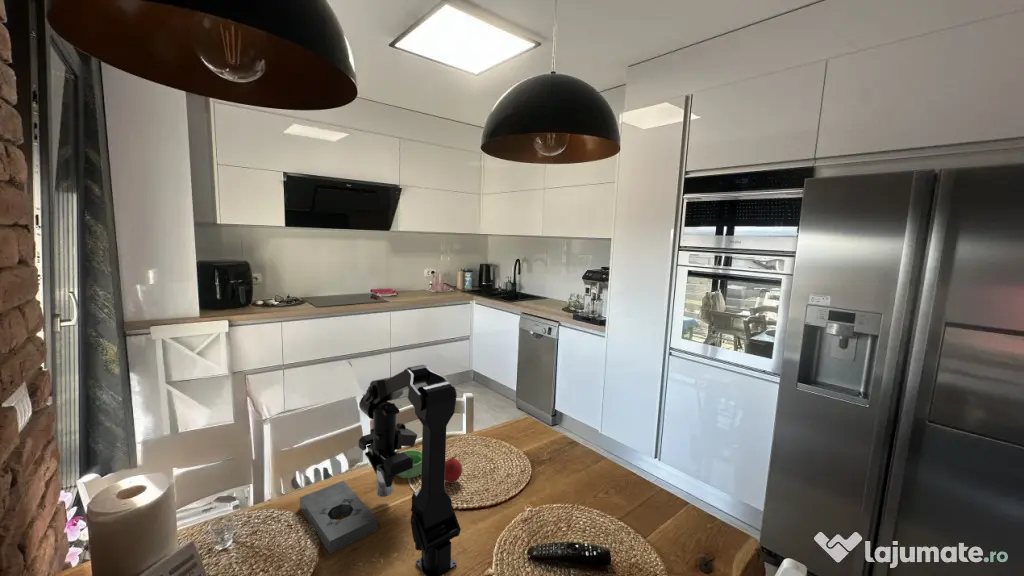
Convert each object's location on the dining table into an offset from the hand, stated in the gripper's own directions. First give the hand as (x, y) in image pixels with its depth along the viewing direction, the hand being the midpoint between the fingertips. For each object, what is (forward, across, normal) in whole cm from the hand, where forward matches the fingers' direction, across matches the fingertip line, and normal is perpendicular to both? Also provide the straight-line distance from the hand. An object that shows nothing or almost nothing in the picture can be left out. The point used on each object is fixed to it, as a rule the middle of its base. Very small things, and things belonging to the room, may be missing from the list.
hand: (384, 482), depth 106 cm
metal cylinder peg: (+3, 0, 0) cm, 3 cm away
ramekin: (+6, +9, -12) cm, 16 cm away
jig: (+6, +2, +12) cm, 13 cm away
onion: (+6, -4, -18) cm, 20 cm away
